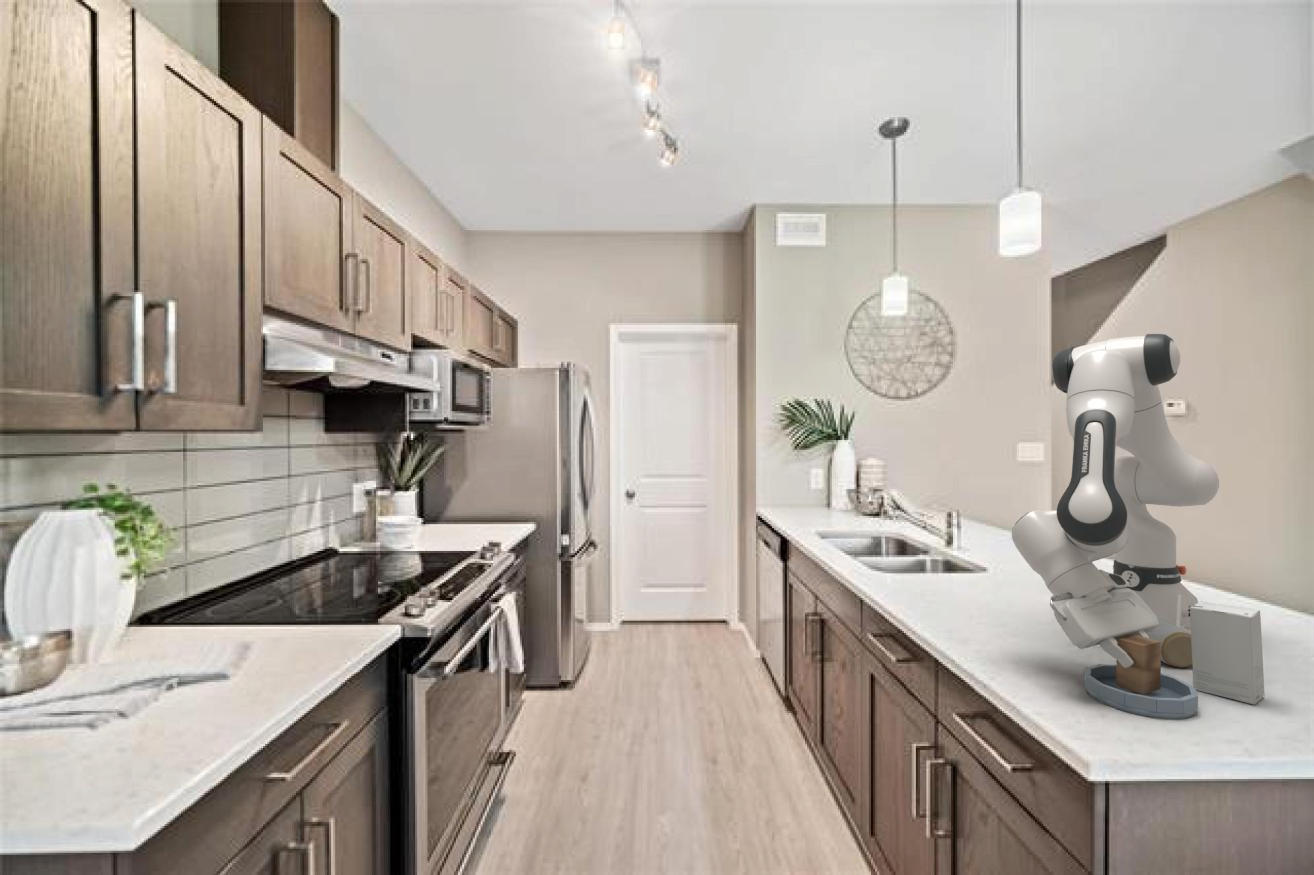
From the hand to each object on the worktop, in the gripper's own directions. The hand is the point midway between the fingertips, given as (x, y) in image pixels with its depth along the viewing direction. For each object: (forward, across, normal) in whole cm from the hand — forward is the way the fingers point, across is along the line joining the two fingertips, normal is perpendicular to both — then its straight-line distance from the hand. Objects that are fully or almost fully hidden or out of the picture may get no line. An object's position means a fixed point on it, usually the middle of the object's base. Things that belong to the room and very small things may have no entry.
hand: (1142, 662), depth 104 cm
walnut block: (+3, 0, +4) cm, 4 cm away
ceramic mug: (-1, +25, +10) cm, 27 cm away
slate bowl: (+4, 0, +5) cm, 6 cm away
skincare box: (+8, +16, +2) cm, 18 cm away
